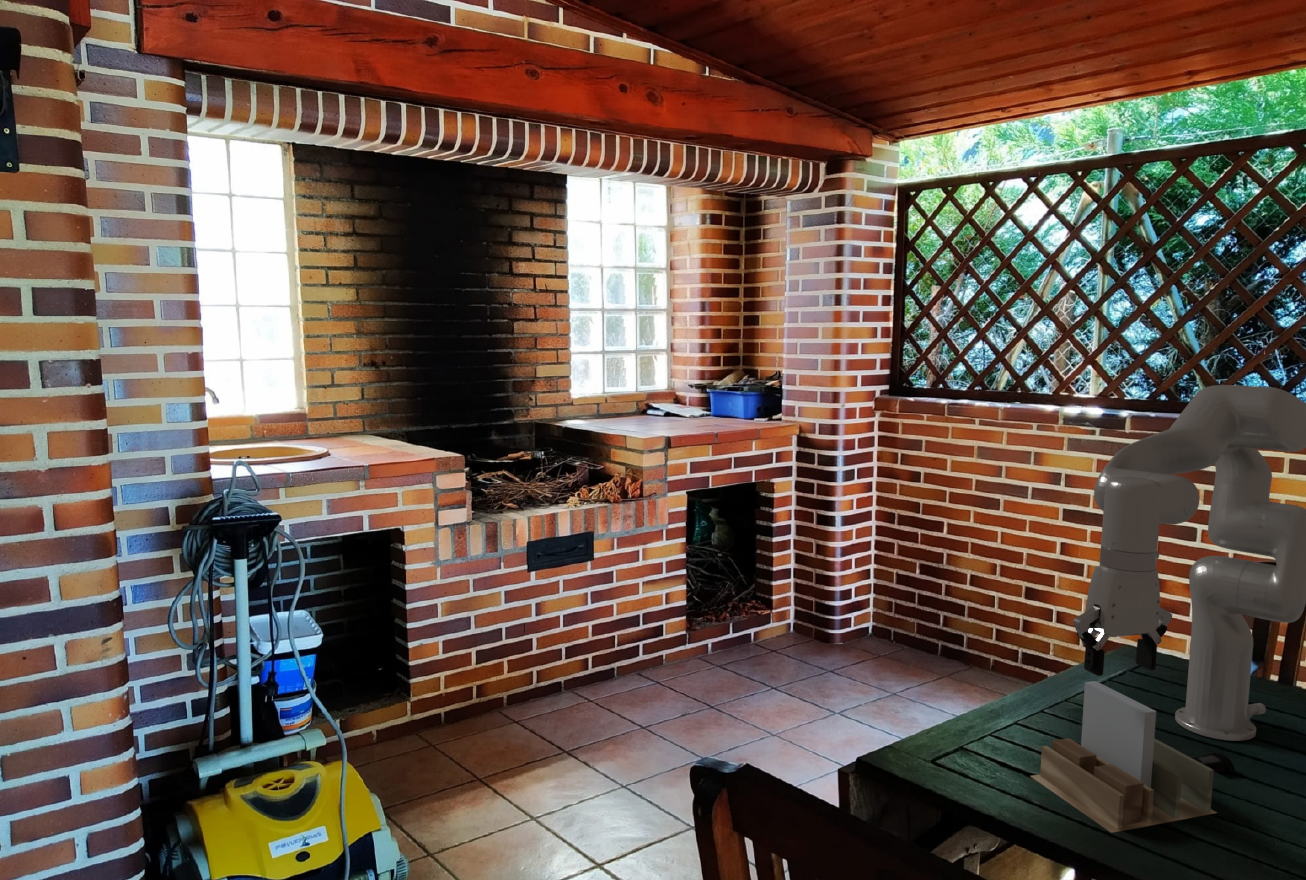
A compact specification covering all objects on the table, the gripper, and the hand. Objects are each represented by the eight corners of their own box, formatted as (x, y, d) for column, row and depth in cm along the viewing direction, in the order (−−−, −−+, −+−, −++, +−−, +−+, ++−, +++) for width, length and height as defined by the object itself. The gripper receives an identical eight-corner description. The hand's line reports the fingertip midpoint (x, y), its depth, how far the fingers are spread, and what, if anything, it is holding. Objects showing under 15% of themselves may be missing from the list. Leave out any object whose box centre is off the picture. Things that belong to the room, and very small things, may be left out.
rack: (1126, 768, 150) (1129, 722, 149) (1216, 822, 133) (1220, 771, 132) (1029, 784, 144) (1032, 737, 143) (1111, 842, 128) (1114, 789, 127)
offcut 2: (1109, 801, 136) (1111, 764, 135) (1140, 822, 130) (1143, 783, 130) (1091, 804, 135) (1094, 766, 135) (1122, 825, 130) (1125, 786, 129)
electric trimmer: (1142, 778, 147) (1143, 760, 147) (1216, 764, 152) (1217, 746, 151) (1161, 790, 144) (1162, 771, 143) (1236, 775, 148) (1238, 756, 148)
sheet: (1089, 770, 146) (1095, 680, 144) (1149, 807, 135) (1156, 711, 133) (1079, 771, 145) (1084, 682, 144) (1138, 809, 134) (1145, 712, 132)
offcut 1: (1066, 773, 145) (1068, 738, 144) (1094, 792, 139) (1096, 755, 138) (1049, 776, 144) (1051, 740, 143) (1077, 795, 138) (1079, 757, 137)
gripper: (1153, 551, 142) (1145, 656, 143) (1062, 557, 137) (1054, 666, 139) (1194, 562, 134) (1185, 673, 136) (1099, 569, 129) (1091, 684, 131)
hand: (1119, 669), depth 137 cm, fingers open, 9 cm apart
